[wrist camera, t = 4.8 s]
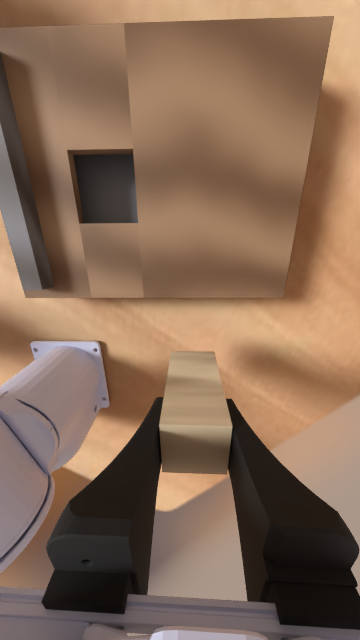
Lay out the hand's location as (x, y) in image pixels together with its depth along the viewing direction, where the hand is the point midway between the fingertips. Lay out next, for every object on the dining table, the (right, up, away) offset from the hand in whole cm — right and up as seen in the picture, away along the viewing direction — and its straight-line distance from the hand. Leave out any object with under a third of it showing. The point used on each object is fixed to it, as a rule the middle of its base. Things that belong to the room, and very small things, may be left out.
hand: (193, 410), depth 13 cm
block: (0, +2, +4) cm, 4 cm away
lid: (-3, +16, +2) cm, 16 cm away
